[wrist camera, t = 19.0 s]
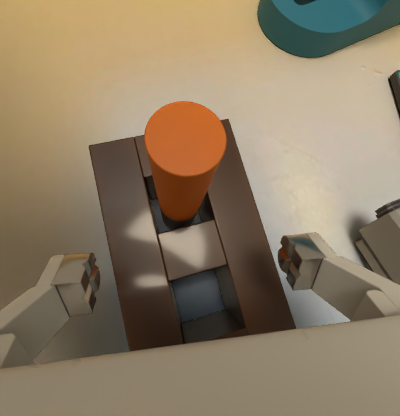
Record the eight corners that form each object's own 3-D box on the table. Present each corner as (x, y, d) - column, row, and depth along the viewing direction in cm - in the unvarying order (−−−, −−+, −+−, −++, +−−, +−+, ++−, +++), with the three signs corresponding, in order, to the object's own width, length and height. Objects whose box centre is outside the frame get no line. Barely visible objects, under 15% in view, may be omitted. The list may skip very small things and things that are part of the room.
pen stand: (152, 375, 19) (143, 425, 13) (110, 176, 22) (88, 145, 16) (269, 335, 21) (307, 364, 15) (215, 154, 24) (228, 118, 18)
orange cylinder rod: (166, 234, 21) (154, 184, 8) (159, 204, 22) (135, 108, 8) (197, 226, 22) (236, 166, 8) (189, 196, 22) (214, 94, 9)
